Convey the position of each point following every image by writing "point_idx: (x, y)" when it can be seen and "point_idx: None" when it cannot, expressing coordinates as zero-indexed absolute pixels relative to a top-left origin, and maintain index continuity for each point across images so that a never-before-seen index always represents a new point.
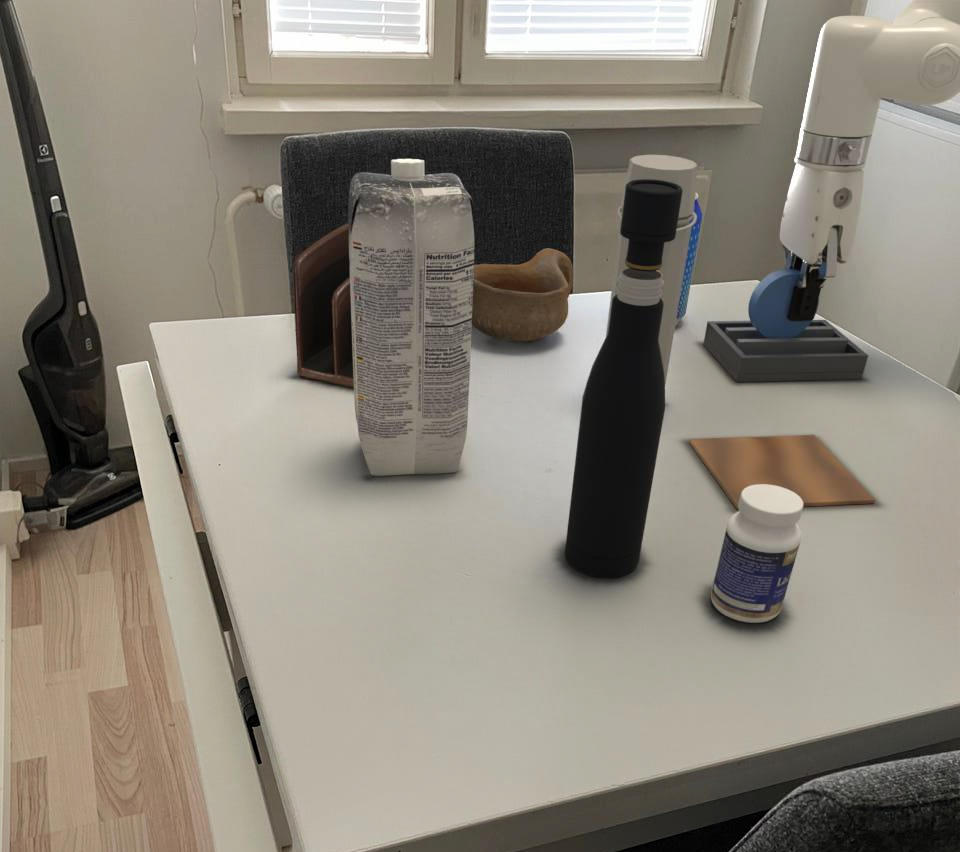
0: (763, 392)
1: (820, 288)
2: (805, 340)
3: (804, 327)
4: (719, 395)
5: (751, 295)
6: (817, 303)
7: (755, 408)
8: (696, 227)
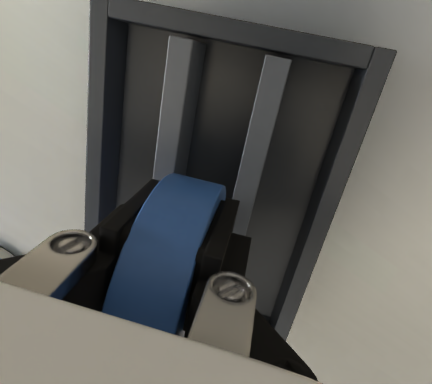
0: (336, 304)
1: (222, 257)
2: (253, 194)
3: (224, 196)
4: (316, 368)
5: None
6: (231, 222)
7: (388, 354)
8: None
